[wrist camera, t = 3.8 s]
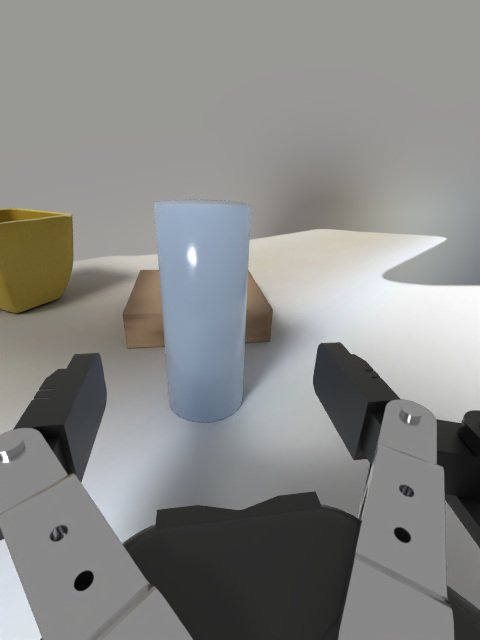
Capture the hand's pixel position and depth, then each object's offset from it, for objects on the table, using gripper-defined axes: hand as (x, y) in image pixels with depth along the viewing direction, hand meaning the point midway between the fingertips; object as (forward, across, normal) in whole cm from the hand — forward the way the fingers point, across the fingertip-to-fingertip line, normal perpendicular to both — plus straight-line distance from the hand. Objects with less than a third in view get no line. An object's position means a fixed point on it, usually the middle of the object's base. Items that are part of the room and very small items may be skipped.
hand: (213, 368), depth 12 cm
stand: (+20, 0, +7) cm, 21 cm away
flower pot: (+25, +18, +7) cm, 32 cm away
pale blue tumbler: (+7, 0, +7) cm, 10 cm away
